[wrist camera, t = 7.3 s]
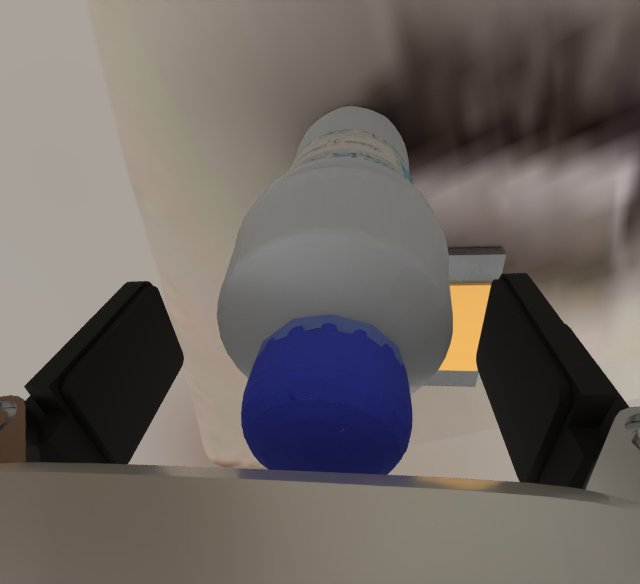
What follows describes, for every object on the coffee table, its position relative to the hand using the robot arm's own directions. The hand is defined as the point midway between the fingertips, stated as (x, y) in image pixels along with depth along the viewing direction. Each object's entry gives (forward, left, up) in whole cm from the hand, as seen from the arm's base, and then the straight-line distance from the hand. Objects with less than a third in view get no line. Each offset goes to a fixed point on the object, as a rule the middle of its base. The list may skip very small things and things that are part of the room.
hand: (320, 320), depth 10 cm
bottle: (0, 0, -16) cm, 16 cm away
